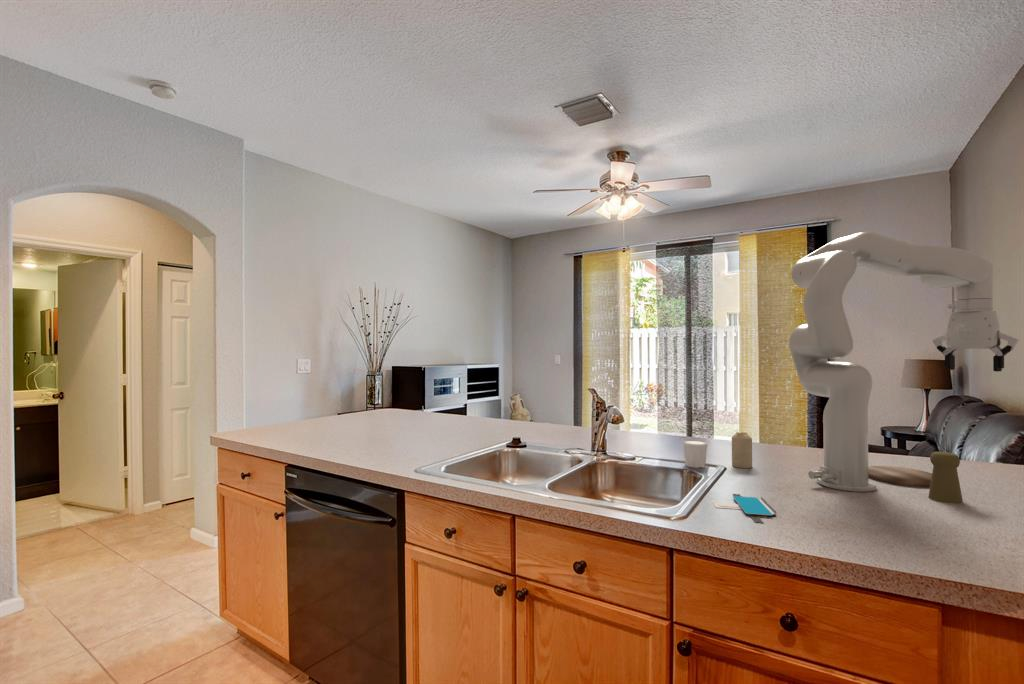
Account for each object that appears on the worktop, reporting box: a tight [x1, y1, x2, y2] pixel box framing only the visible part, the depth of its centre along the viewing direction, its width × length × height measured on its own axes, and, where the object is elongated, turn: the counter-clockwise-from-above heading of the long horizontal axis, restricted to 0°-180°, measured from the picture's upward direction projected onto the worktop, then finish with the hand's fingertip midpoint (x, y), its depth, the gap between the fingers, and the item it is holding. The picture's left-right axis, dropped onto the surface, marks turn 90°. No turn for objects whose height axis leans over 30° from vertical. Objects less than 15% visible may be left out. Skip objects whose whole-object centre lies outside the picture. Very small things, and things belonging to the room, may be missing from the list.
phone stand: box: [712, 493, 779, 524], centre depth 109 cm, size 20×12×2 cm, turn 168°
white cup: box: [682, 440, 708, 469], centre depth 148 cm, size 7×7×7 cm
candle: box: [731, 431, 753, 469], centre depth 147 cm, size 6×6×10 cm
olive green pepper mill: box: [928, 451, 964, 505], centre depth 114 cm, size 6×6×11 cm
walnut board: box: [868, 465, 932, 488], centre depth 132 cm, size 16×16×2 cm
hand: (973, 370), depth 132 cm, fingers open, 9 cm apart
